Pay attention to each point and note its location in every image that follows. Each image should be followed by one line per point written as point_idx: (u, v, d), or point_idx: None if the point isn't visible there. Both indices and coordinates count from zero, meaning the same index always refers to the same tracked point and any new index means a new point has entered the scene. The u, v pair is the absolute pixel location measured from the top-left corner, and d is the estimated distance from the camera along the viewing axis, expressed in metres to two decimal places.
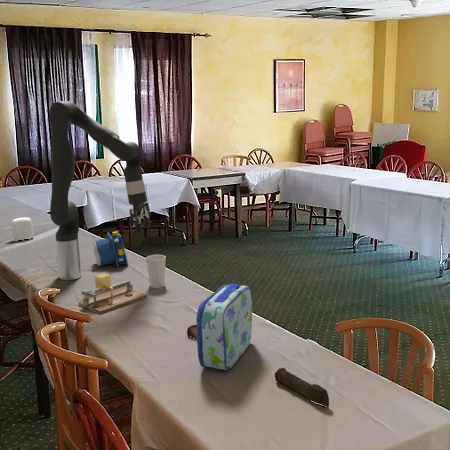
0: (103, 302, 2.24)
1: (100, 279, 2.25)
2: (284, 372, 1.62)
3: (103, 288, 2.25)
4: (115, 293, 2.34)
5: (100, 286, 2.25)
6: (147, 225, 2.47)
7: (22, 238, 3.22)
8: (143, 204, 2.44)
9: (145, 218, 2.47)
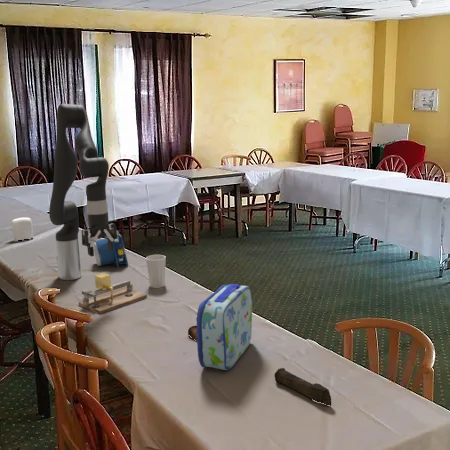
0: (103, 302, 2.24)
1: (100, 279, 2.25)
2: (283, 372, 1.62)
3: (103, 288, 2.25)
4: (115, 293, 2.34)
5: (100, 286, 2.25)
6: (109, 248, 2.27)
7: (22, 238, 3.22)
8: (105, 226, 2.23)
9: (108, 240, 2.27)
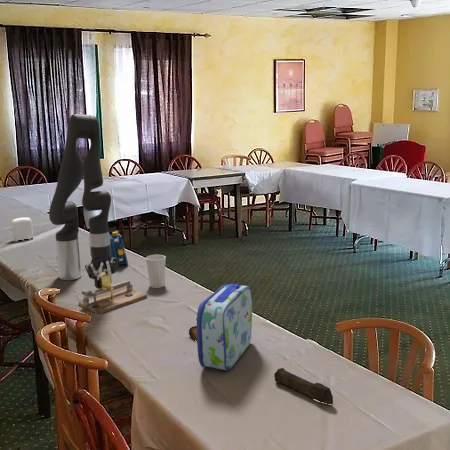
0: (103, 302, 2.24)
1: (100, 279, 2.25)
2: (283, 372, 1.62)
3: (103, 288, 2.25)
4: (115, 293, 2.34)
5: None
6: None
7: (22, 238, 3.22)
8: (108, 256, 2.26)
9: None
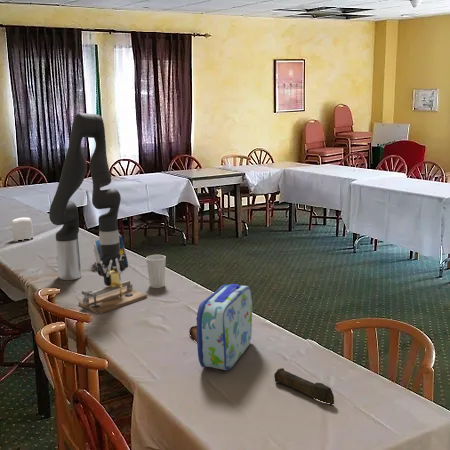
0: (103, 302, 2.24)
1: (109, 276, 2.28)
2: (283, 373, 1.62)
3: (112, 285, 2.28)
4: (115, 293, 2.34)
5: None
6: None
7: (22, 238, 3.22)
8: (117, 254, 2.29)
9: None
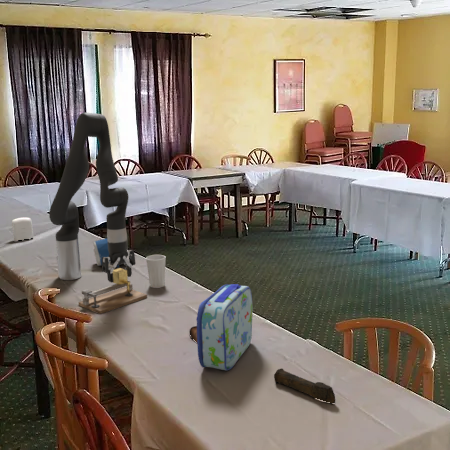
0: (103, 302, 2.24)
1: (117, 274, 2.30)
2: (283, 373, 1.62)
3: (120, 283, 2.31)
4: (115, 293, 2.34)
5: (117, 280, 2.31)
6: (128, 274, 2.35)
7: (22, 238, 3.22)
8: (124, 253, 2.32)
9: (127, 266, 2.35)
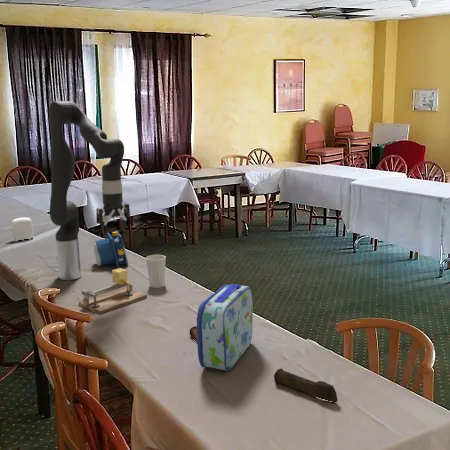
0: (103, 302, 2.24)
1: (117, 274, 2.30)
2: (283, 373, 1.62)
3: (120, 283, 2.31)
4: (115, 293, 2.34)
5: (117, 280, 2.31)
6: (122, 227, 2.35)
7: (22, 238, 3.22)
8: (119, 205, 2.31)
9: (122, 220, 2.34)
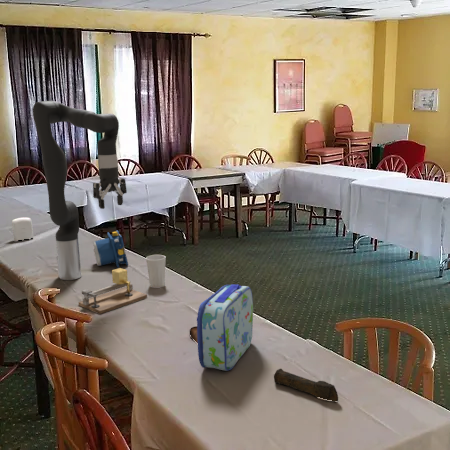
0: (103, 302, 2.24)
1: (117, 274, 2.30)
2: (283, 373, 1.62)
3: (120, 283, 2.31)
4: (115, 293, 2.34)
5: (117, 280, 2.31)
6: (119, 202, 2.37)
7: (22, 238, 3.22)
8: (115, 180, 2.33)
9: (118, 194, 2.37)
